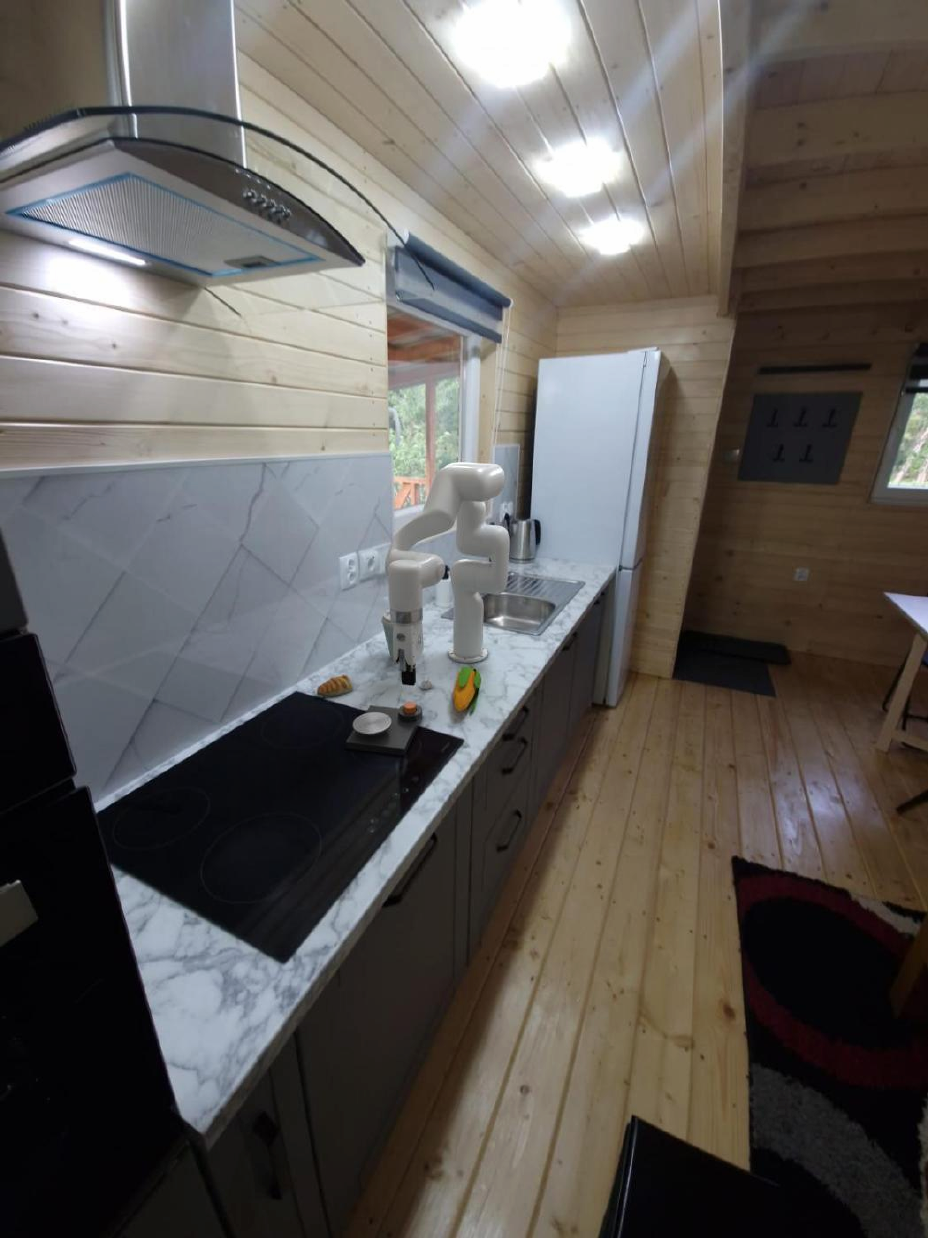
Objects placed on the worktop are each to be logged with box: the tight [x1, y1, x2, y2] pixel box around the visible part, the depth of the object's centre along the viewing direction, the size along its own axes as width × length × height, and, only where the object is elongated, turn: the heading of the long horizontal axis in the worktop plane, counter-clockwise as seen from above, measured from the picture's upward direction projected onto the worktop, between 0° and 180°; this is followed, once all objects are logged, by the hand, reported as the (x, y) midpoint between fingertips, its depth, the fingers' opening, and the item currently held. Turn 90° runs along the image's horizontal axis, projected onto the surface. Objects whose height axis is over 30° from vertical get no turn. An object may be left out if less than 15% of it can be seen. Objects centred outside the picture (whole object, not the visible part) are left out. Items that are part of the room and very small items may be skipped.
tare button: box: [403, 701, 417, 714], centre depth 124 cm, size 3×3×2 cm
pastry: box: [316, 674, 354, 698], centre depth 138 cm, size 9×7×4 cm
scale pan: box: [352, 712, 391, 736], centre depth 117 cm, size 9×9×1 cm
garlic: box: [420, 676, 433, 690], centre depth 141 cm, size 3×4×3 cm
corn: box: [452, 666, 482, 712], centre depth 133 cm, size 7×8×20 cm
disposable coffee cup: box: [380, 609, 394, 661], centre depth 156 cm, size 11×11×15 cm
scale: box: [345, 703, 424, 757], centre depth 120 cm, size 16×14×4 cm
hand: (409, 683), depth 121 cm, fingers closed
